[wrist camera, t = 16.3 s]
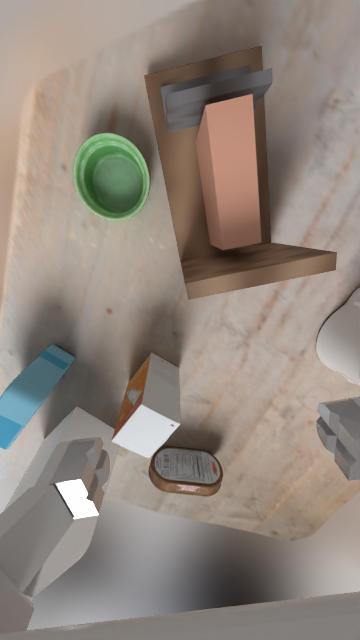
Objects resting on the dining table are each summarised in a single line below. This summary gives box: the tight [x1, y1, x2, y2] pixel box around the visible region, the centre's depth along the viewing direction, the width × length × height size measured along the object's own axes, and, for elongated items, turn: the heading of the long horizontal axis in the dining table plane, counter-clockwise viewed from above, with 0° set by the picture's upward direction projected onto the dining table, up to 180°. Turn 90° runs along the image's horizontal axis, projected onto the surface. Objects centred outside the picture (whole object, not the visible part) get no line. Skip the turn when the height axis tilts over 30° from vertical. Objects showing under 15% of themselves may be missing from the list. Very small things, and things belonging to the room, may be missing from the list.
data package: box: [0, 344, 75, 449], centre depth 36 cm, size 12×4×12 cm, turn 141°
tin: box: [149, 446, 223, 497], centre depth 46 cm, size 15×3×8 cm, turn 79°
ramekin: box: [73, 133, 150, 221], centre depth 29 cm, size 9×9×4 cm
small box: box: [111, 352, 181, 458], centre depth 36 cm, size 8×6×13 cm
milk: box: [4, 406, 120, 601], centre depth 36 cm, size 12×12×26 cm
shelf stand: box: [144, 46, 337, 299], centre depth 24 cm, size 13×24×16 cm, turn 11°
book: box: [196, 94, 261, 250], centre depth 26 cm, size 4×12×9 cm, turn 11°
